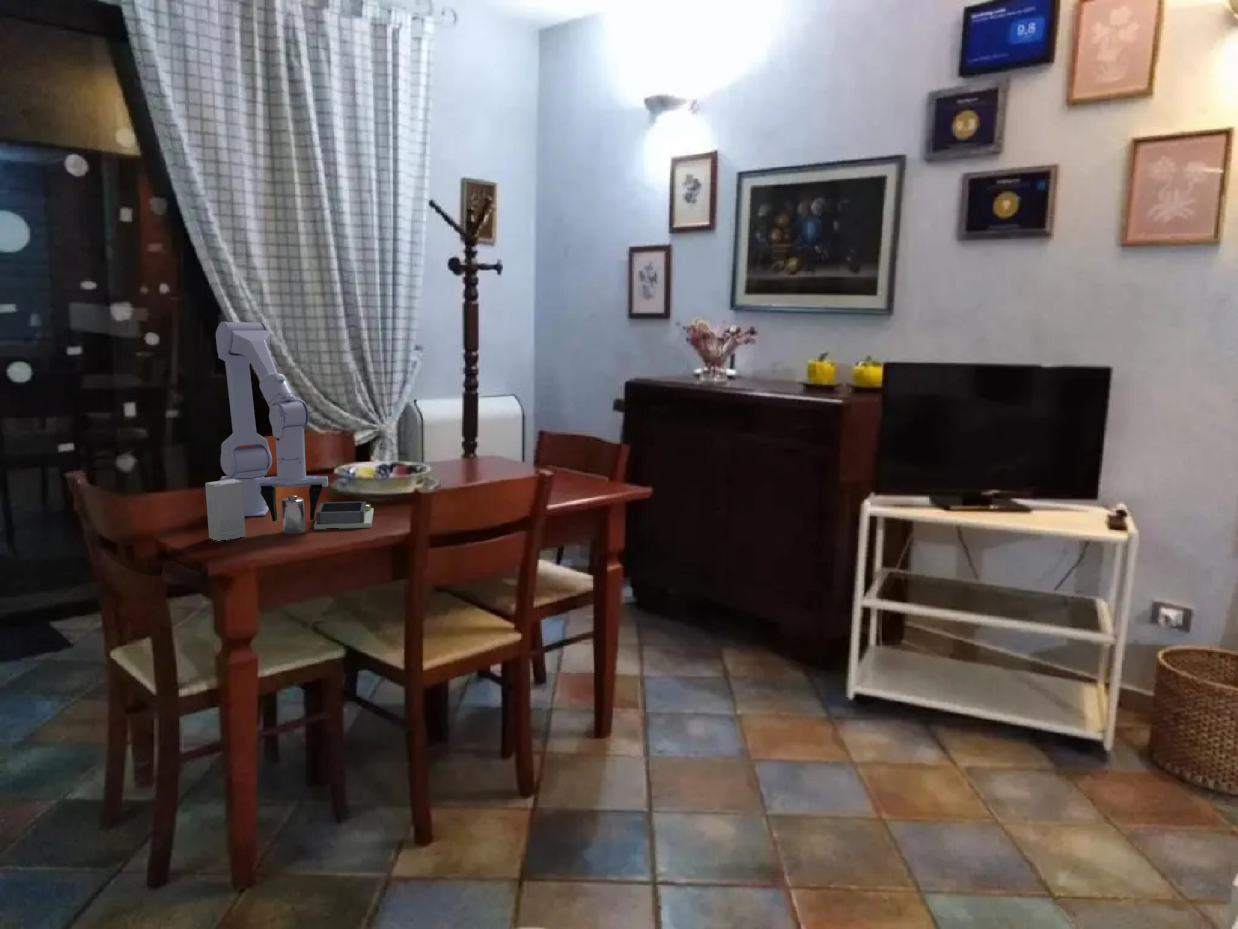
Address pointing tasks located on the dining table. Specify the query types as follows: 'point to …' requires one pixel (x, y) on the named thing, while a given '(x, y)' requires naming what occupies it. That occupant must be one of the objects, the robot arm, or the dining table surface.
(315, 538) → the dining table surface
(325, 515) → the box
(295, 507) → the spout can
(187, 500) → the dining table surface
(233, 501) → the skincare box
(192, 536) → the dining table surface
